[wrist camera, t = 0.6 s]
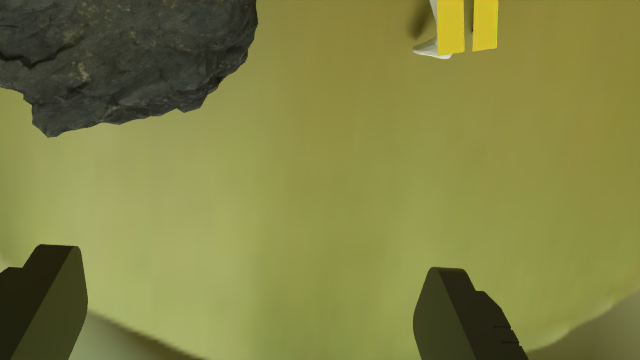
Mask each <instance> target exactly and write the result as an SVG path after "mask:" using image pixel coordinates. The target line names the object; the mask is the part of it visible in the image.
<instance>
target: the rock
mask: <svg viewBox="0 0 640 360" xmlns="http://www.w3.org/2000/svg"><path fill="white" fill-rule="evenodd" d="M257 25H258V19H257V11H256V0H0V87H2V88H6V89H12V90H15V91H18V92H20V93H23V94H24V99H23V100H25V101H26V102H28V103H29V104H31V105H32V116H33V120H32V124H33V125H34V126H36V127H37V128H39V129H40V130H41V131H42V132H43V133H44V134H45V135H46V136H47V137H48V138H49V137H57V136H58V135H60V134H62V133H63V132H66V131H70V130H77V129H81V128H88V127H92V126H94V125H97V124H99V123H103V122H105V123H112V124H118V125H120V124H123V123H125V122H128V121H131V120H135V119H145V118H147V117H150V116H161V115H163V114H165V113H167V112H169V111H172V110H174V109H176V108H177V109H179V110H180V111H182V112H183V113H185V112H188V111H192V110H195V109H198V108H200V107H201V106H202V104H203V102H204V100H205V98H206V97H207V95H208V94H210V93H212V92H213V91H215V90H216V89H217V88H218V86H219V83H220V82H221V81H222V80H223V79H224V78H225V77H226V76H227V75H229V74H232V73H233V72H235V71H236V70H237V69H238V68H239V66H240V65H242V64H243V63H245V61H246V59H247V57H248V48H249V47H250V45H251V43H252V42H253V40H254V35H255V30H256V28H257Z"/></svg>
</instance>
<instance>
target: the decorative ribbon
mask: <svg viewBox="0 0 640 360" xmlns="http://www.w3.org/2000/svg"><path fill="white" fill-rule="evenodd" d="M430 3H431V7H432V11H433V14H434V18H435V22H436V27H437V34H436V37H435V38H433V39H431V40H429V41H427V42H424V43H422V44H419V45H416V46H414V47H413V49H412V51H413V52H414V53H417V54H421V55H429V56H433V57H437V58H441V59H448V58H450V57H451V56H452V54H453V53H459V52H464V2H463V0H430ZM497 22H498V0H474V24H473V32H472V33H471V35H472V37H473V51H479V50H486V49H492V48H497Z"/></svg>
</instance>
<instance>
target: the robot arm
mask: <svg viewBox="0 0 640 360" xmlns="http://www.w3.org/2000/svg"><path fill="white" fill-rule="evenodd" d="M87 305H88V296H87V289H86V282H85V275H84V268H83V262H82V255H81V251H80V248H79V247H78V246H64V245H46V244H40V245H38V246H37V247H36V248H35V249H34V251H33V252H32V254H31V255H30V257H29V258H28V260H27V261H26V263H25V264H24V266H23V268H17V267H8V268H7V269H5V270H4V271H3V272H1V273H0V360H68V358H69V356H70V354H71V352H72V350H73V347H74V345H75V343H76V340H77V338H78V336H79V334H80V331H81V329H82V326H83V324H84V321H85V317H86V313H87ZM413 331H414V336H415V340H416V343H417V346H418V350H419V353H420V356H421V359H422V360H528V357H527V356H526V354H525V352H524V350H523V348H522V346H519V341H518V339H517V337H516V335H515V333H514V332H513V330H511V326H510V324H509V322H508V320H507V319H506V317H505V315H504V313H503V311H502V309H501V308H500V307H499V306H498V305H497V304H496V303H495V302H494V301H493V300H492V299H491V298H490V297H489V296H488V295H487V294H486V293H485V292H484V291H476V290H475V288H474V286H473V284H472V282H471V280H470V278H469V276H468V274H467V273H466V271H465V270H463V269H459V268H441V267H432V268H430V270H429V271H428V274H427V276H426V279H425V282H424V285H423V288H422V291H421V294H420V296H419V299H418V302H417V305H416V308H415V311H414V316H413Z"/></svg>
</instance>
